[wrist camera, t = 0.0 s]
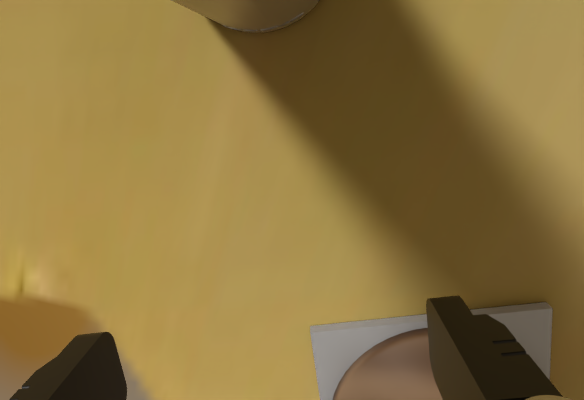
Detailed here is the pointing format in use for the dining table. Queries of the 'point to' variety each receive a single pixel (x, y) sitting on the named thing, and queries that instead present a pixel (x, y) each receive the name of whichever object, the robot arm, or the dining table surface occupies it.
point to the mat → (365, 334)
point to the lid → (392, 371)
